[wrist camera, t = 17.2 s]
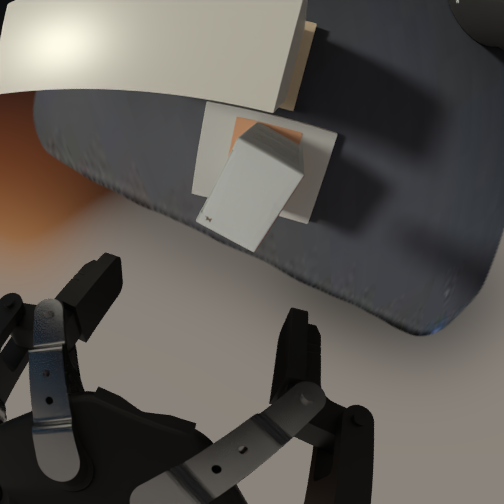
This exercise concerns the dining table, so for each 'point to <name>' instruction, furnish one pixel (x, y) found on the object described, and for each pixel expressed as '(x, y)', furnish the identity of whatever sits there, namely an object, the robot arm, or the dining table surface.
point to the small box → (253, 186)
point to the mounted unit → (160, 48)
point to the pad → (241, 119)
